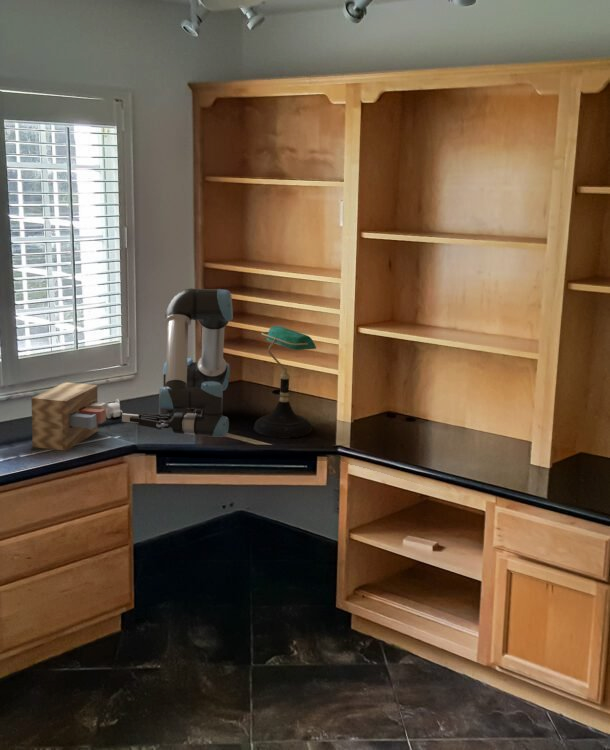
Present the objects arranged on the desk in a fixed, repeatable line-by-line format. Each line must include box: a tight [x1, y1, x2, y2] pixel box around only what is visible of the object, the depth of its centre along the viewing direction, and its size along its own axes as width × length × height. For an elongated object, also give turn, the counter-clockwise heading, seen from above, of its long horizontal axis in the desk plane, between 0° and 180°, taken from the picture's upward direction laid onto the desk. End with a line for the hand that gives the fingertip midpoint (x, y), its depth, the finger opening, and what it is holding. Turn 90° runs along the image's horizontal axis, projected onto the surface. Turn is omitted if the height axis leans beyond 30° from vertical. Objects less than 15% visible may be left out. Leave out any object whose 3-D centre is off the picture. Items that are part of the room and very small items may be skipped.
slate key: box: [69, 413, 96, 429], centre depth 311 cm, size 12×4×4 cm, turn 79°
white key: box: [89, 402, 107, 410], centre depth 327 cm, size 12×4×4 cm, turn 79°
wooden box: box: [31, 381, 99, 452], centre depth 321 cm, size 13×26×18 cm, turn 169°
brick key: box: [79, 408, 107, 424], centre depth 319 cm, size 12×4×4 cm, turn 79°
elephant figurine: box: [101, 398, 123, 420], centre depth 353 cm, size 8×10×7 cm
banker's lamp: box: [253, 325, 317, 439], centre depth 343 cm, size 26×23×40 cm
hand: (122, 417), depth 317 cm, fingers closed
